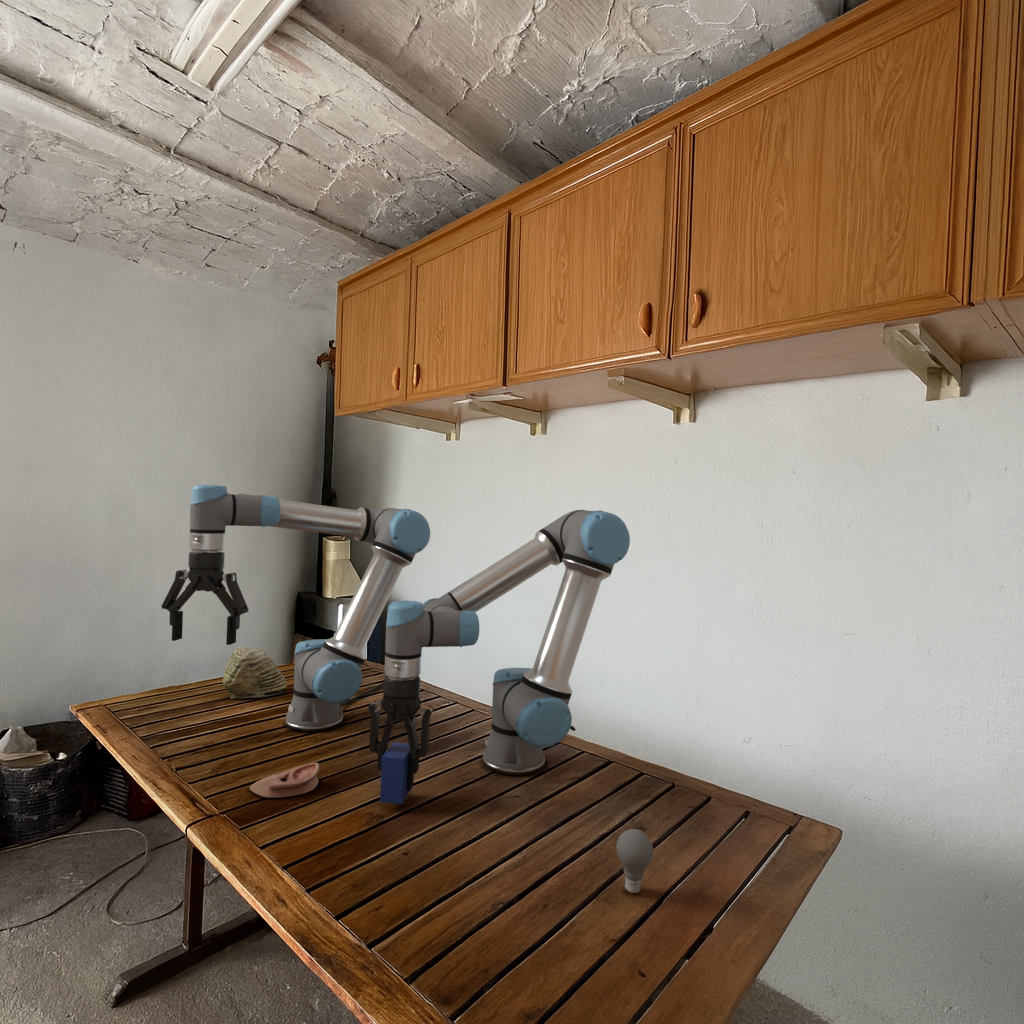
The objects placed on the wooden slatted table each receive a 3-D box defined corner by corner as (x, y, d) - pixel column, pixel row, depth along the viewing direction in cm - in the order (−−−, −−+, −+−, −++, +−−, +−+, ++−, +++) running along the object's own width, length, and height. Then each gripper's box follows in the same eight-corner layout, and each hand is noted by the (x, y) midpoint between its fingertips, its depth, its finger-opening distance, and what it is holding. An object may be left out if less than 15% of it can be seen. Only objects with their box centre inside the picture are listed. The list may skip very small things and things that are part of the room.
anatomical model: (241, 775, 133) (272, 754, 144) (240, 794, 133) (272, 771, 144) (299, 783, 130) (326, 761, 142) (298, 802, 130) (325, 779, 142)
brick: (379, 802, 129) (381, 756, 129) (391, 784, 137) (393, 742, 137) (401, 804, 128) (404, 758, 128) (412, 787, 136) (414, 744, 136)
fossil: (218, 695, 195) (220, 647, 195) (278, 685, 208) (279, 640, 207) (228, 703, 189) (230, 653, 188) (289, 692, 201) (290, 645, 201)
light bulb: (610, 879, 108) (613, 822, 108) (644, 879, 109) (647, 822, 109) (619, 902, 102) (622, 840, 102) (655, 901, 103) (658, 840, 103)
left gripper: (146, 549, 145) (143, 641, 146) (248, 555, 142) (245, 649, 143) (168, 547, 153) (165, 634, 153) (265, 552, 150) (262, 641, 150)
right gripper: (354, 677, 130) (349, 789, 130) (439, 684, 127) (434, 799, 128) (367, 667, 137) (362, 774, 137) (448, 674, 135) (442, 782, 135)
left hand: (203, 641), depth 148 cm, fingers open, 13 cm apart
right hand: (397, 786), depth 133 cm, fingers closed on brick, 5 cm apart
